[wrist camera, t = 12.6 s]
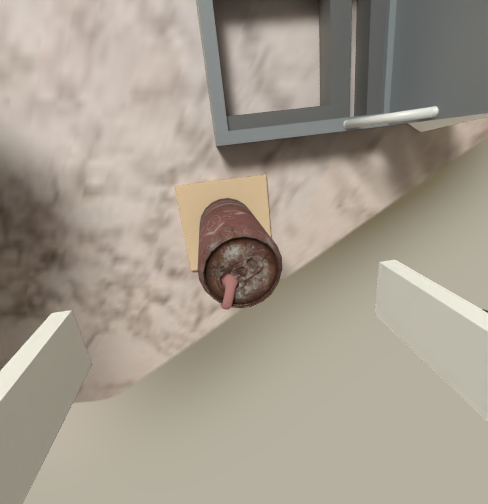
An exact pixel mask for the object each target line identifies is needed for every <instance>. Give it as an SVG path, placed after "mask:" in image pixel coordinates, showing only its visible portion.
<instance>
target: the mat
mask: <svg viewBox="0 0 488 504" xmlns="http://www.w3.org/2000/svg"><path fill="white" fill-rule="evenodd" d="M175 191H176V196H177V201H178V206H179V212H180V217H181V222H182V227H183V232H184V237H185V242H186V247H187V252H188V257H189V262H190V268H191V271H194V270H198V249H199V227H200V220H201V215H202V214H203V212H204V210H205V208H206V207H208V206H209V205H210V204H211V203H212V202H214V201H216V200H219V199H224V198H231V199H236V200H238V201H240V202H242V203H243V204H245V205H246V206H247V208H248V209H249V210H250V211H251V212H252V214H253V215H254V216H255V218H256V219H257V220H258V221H259V223H260V224H261V225H262V227H263V228H264V229H265V231H266V232H267V233H268V235H269V236H270V237H271V231H270V219H269V206H268V194H267V182H266V175H265V174H264V175H257V176H249V177H241V178H233V179H226V180H218V181H210V182H203V183H195V184H187V185H179V186H175Z"/></svg>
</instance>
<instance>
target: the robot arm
mask: <svg viewBox="0 0 488 504" xmlns="http://www.w3.org/2000/svg"><path fill="white" fill-rule="evenodd" d="M375 315H376V316H377V317H378V318H379V319H380V320H381V321H382V322H383V323H384V324H385V325H387V327H389V329H391V330H392V331H393V332H394V333H395V334H396V335H397V336H398V337H399V338H400V339H401V340H402V341H403V342H404V343H405V344H407V345H408V347H409V348H410V349H412V350H413V351H414V352H415V353H416V354H417V355H418V356H419V357H420V358H421V359H422V360H423V361H424V362H425V363H427V365H428V366H429V367H431V368H432V369H433V370H434V371H435V372H436V373H437V374H438V375H439V376H440V377H441V378H442V379H443V380H444V381H445V382H446V383H447V384H448V385H449V386H451V388H453V389H454V390H455V391H456V392H457V393H458V394H459V395H460V396H461V397H462V398H463V399H464V400H465V401H466V402H467V403H468V404H469V405H470V406H471V407H472V408H474V409H475V410H476V411H477V412H478V413H479V414H480V415H481V416H482V417H483V418H484V419H485V420H486V421H487V422H488V311H486V310H484V309H480V308H478V307H476V306H475V305H473V304H471V303H469V302H468V301H466V300H464V299H463V298H461V297H459V296H457V295H456V294H454V293H452V292H450V291H449V290H447V289H445V288H443V287H442V286H440V285H438V284H436V283H434V282H433V281H431V280H429V279H428V278H426V277H424V276H422V275H421V274H419V273H417V272H415V271H414V270H412V269H410V268H409V267H407V266H405V265H403V264H402V263H400V262H398V261H396V260H391V261H384V262H379V271H378V282H377V294H376V306H375ZM91 365H92V363H91V360H90V358H89V355H88V352H87V350H86V347H85V344H84V341H83V339H82V336H81V333H80V331H79V328H78V325H77V323H76V320H75V317H74V314H73V312H72V310H69V311H63V312H56V313H51V315H50V316H49V317H48V318H47V319H46V320H45V321H44V322H43V324H42V325H41V326H40V327H39V328H38V329H37V330H36V331H35V332H34V334H33V335H32V336H31V337H30V338H29V339H28V340H27V341H26V343H25V344H24V345H23V346H22V347H21V348H20V349H19V350H18V352H17V353H16V354H15V355H14V356H13V357H12V358H11V359H10V361H9V362H8V363H7V364H6V365H5V366H4V367H3V368H2V369H1V371H0V504H23V502H24V500H25V498H26V496H27V494H28V492H29V490H30V488H31V486H32V484H33V482H34V480H35V478H36V476H37V474H38V472H39V470H40V468H41V466H42V464H43V462H44V460H45V458H46V456H47V454H48V452H49V450H50V448H51V446H52V444H53V442H54V440H55V438H56V436H57V434H58V432H59V430H60V428H61V426H62V424H63V422H64V420H65V417H66V416H67V414H68V412H69V410H70V408H71V405H72V403H73V401H74V399H75V397H76V395H77V393H78V391H79V389H80V387H81V385H82V383H83V381H84V379H85V377H86V375H87V373H88V371H89V369H90V367H91Z"/></svg>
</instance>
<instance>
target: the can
mask: <svg viewBox="0 0 488 504" xmlns="http://www.w3.org/2000/svg"><path fill="white" fill-rule="evenodd" d="M281 271H282V257H281V254H280V252H279V249H278V247H277V245H276V244H275V242H274V241H273V240H272V238H271V237H270V236H269V235H268V233H267V232H266V231H265V229H264V228H263V227H262V225H261V224H260V223H259V221H258V220H257V219H256V218H255V216H254V215H253V214H252V212H251V211H250V210H249V209H248V208H247V206H246V205H245V204H243V203H242V202H240V201H238V200H236V199H231V198H224V199H219V200H216V201H214V202H212V203H211V204H210V205H209V206H208V207H206V208H205V210H204V212H203V214H202V215H201V220H200V227H199V249H198V274H199V280H200V282H201V284H202V286H203V288H204V290H205V291H206V292H207V293H208V294H209V295H210V296H211V297H212V298H213V299H215V300H216V301H217V302H219V303H221V307H222V308H223V309H229V308H230V307H235V308H244V307H251V306H254V305H256V304H258V303H260V302H262V301H264V300H265V299H266V298H267V297H268V296H270V295H271V293H272V292H273V290H274V289H275V288H276V286H277V285H278V281H279V278H280V275H281Z"/></svg>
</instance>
